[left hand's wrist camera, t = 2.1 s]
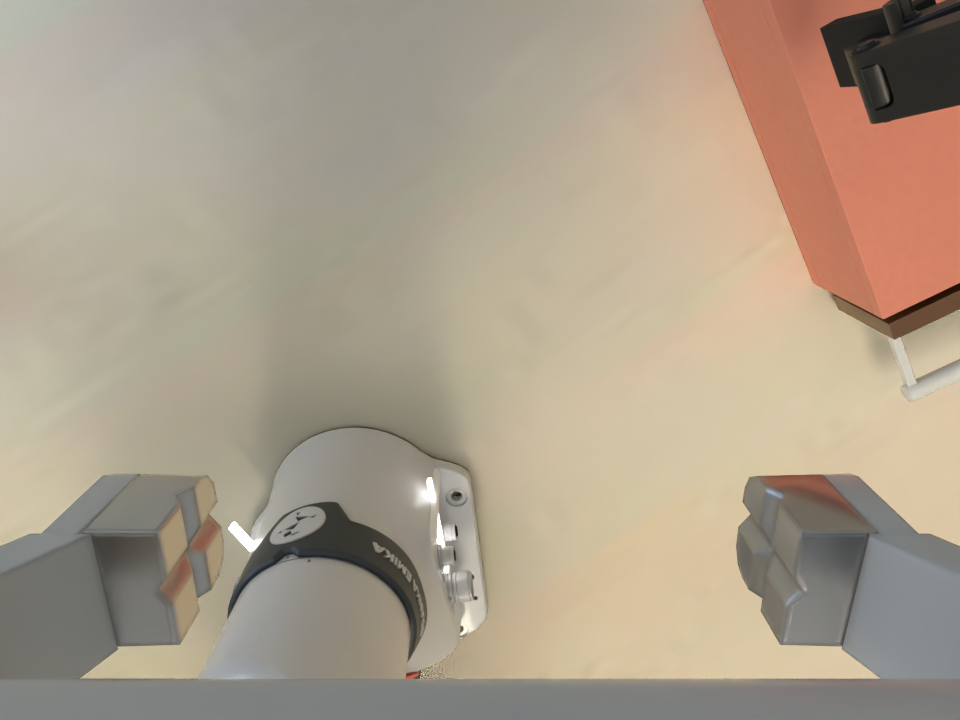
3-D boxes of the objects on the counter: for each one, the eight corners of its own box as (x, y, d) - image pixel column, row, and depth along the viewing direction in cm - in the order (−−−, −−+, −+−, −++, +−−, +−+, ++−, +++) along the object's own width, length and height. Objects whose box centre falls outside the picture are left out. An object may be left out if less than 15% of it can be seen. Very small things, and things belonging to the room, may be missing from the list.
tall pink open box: (960, 210, 46) (1066, 232, 38) (813, 283, 48) (883, 319, 40) (865, -107, 40) (967, -164, 32) (699, -8, 42) (754, -38, 33)
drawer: (992, 317, 48) (1071, 349, 42) (864, 377, 50) (921, 416, 43) (882, -46, 40) (960, -76, 34) (734, 39, 42) (781, 26, 35)
